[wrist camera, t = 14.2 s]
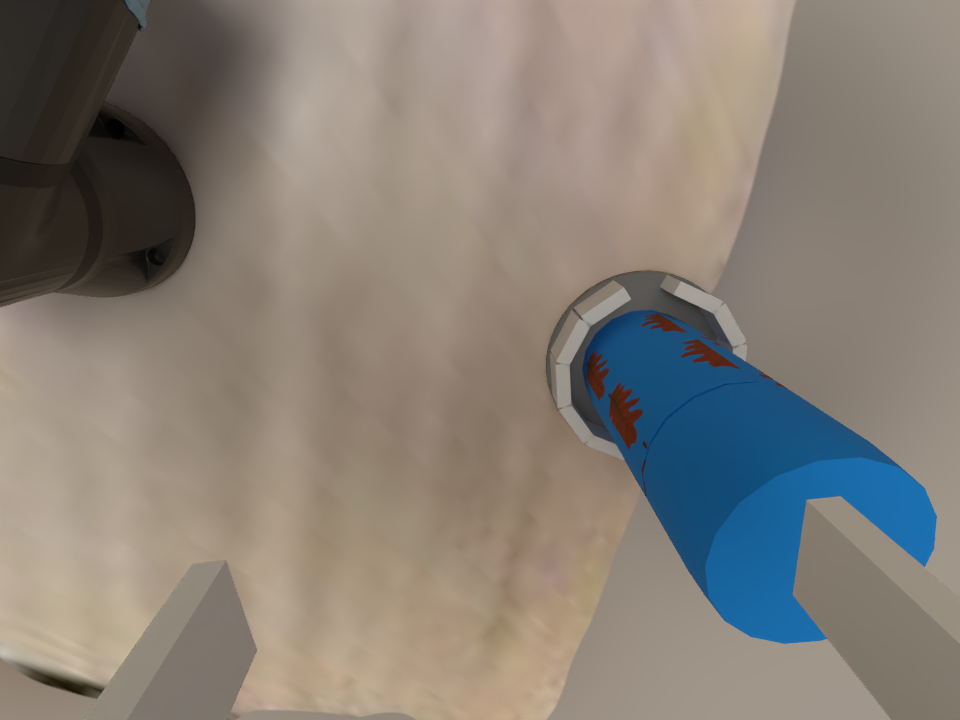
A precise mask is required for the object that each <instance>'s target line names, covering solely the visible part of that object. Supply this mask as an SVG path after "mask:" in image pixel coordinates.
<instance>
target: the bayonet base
mask: <svg viewBox="0 0 960 720" xmlns="http://www.w3.org/2000/svg"><path fill="white" fill-rule="evenodd" d="M642 310H653V311H657V312H661V313H664V314H668V315H671V316H673V317H675V318H677V319H679V320H681V321H683V322H685V323H687V324H689V325H690V326H692V327H693V328H695V329H696V330H698V331H700V332H701V333H703V334H704V335H706V336H707V337H709V338H710V339H712V340H713V341H715V342H716V343H718V344H719V345H721V346H723V347H724V348H726V349H727V350H729V351H730V352H732V353H733V354H735V355H736V356H738V357H739V358H741V359H743V360H744V361H746V354H747V344H746V343H745V342H746V339H745V337H744V336H743V334H742V332H741V330H740V328H739V327H738V325H737V323H736V322H735V320H734V318H733V316H732V314H731V312H730V311H729V309H728V307H727V305H726V303H723V301H722V300H720V299H717V298H715V297H713V296H711V295H709V294H708V293H706V292H705V291H704V290H702V289H701V288H700V287H699V286H697V285H695V284H693V283H692V282H690V281H688V280H686V279H683V278H681V277H678V276H676V275H673V274H669V273H665V272H659V271H634V272H628V273H623V274H620V275H617V276H613V277H611V278H608V279H606V280H604V281H602V282H600V283H598V284H596V285H595V286H593V287H591V288H590V289H588V290H587V291H586V292H584V293H583V294H582V295H580V296H579V297H578V298H577V299H576V300H575V301H574V302H573V303H572V304H571V305H570V306H569V307H568V309H567V310H566V311H565V313H564V314H563V315H562V317H561V318H560V320H559V322H558V323H557V325H556V327H555V329H554V332H553V334H552V336H551V339H550V343H549V346H548V351H547V358H546V373H547V381H548V385H549V388H550V392H551V394H552V397H553V399H554V401H555V403H556V405H557V408H558V410H559V412H560V413H561V414H562V416H563V417H564V418H565V420H566V421H567V423H568V424H569V425H570V427H571V428H572V429H573V431H574V432H575V433H576V435H577V436H578V437H579V439H580V440H581V441H582V443H585V445H586V446H588V447H591V448H593V449H596V450H598V451H601V452H603V453H606V454H609V455H611V456H614V457H616V458H619V459H621V460H624V461H625V459H624V458H623V456H622V454H621V452H620V451H619V449H618V447H617V445H616V444H615V442H614V440H613V438H612V437H611V435H610V433H609V431H608V430H607V428H606V426H605V424H604V423H603V421H602V419H601V417H600V416H599V414H598V412H597V410H596V409H595V407H594V405H593V403H592V401H591V398H590V396H589V394H588V391H587V389H586V386H585V381H584V376H583V371H582V367H583V362H584V357H585V351H586V349H587V347H588V346H589V344H590V342H591V340H592V339H593V337H594V335H595V334H596V333H597V332H598V331H599V330H600V329H601V328H602V327H603V326H605V325H606V324H607V323H608V322H609V321H610V320H612V319H614V318H616V317H619V316H621V315H623V314H626V313H628V312H630V311H642Z"/></svg>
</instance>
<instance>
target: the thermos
mask: <svg viewBox="0 0 960 720" xmlns="http://www.w3.org/2000/svg"><path fill="white" fill-rule="evenodd" d="M582 371H583V376H584V381H585V386H586V389H587V391H588V394H589V396H590V398H591V401H592V403H593V405H594V407H595V409H596V410H597V412H598V414H599V416H600V417H601V419H602V421H603V423H604V424H605V426H606V428H607V430H608V431H609V433H610V435H611V437H612V438H613V440H614V442H615V444H616V445H617V447H618V449H619V451H620V452H621V454H622V456H623V458H624V459H625V461H626V463H627V465H628V466H629V468H630V470H631V472H632V473H633V475H634V477H635V478H636V480H637V482H638V484H639V485H640V487H641V489H642V491H643V492H644V494H645V496H646V497H647V499H648V501H649V503H650V505H651V506H652V508H653V510H654V512H655V513H656V515H657V517H658V519H659V520H660V522H661V524H662V526H663V527H664V529H665V531H666V532H667V534H668V536H669V538H670V540H671V541H672V543H673V545H674V547H675V548H676V550H677V552H678V553H679V555H680V556H681V559H682V560H683V562H684V564H685V566H686V567H687V569H688V571H689V572H690V574H691V575H692V577H693V578H694V580H695V581H696V583H697V584H698V586H699V587H700V588H701V590H702V592H703V593H704V595H705V596H706V597H707V599H708V600H709V601H710V603H711V604H712V605H713V606H714V608H715V609H716V610H717V612H718V613H719V614H720V615H721V617H722V618H723V619H724V621H726V622H727V623H729V624H731V625H732V626H734V627H736V628H737V629H739V630H740V631H742V632H744V633H745V634H747V635H749V636H750V637H754V638H760V639H764V640H769V641H774V642H779V643H784V644H785V643H798V642H810V641H821V640H824V639H827V638H826V637H825V635H824V634H823V633H822V631H821V630H820V629H819V628H818V626H817V625H816V624H815V623H814V621H813V620H812V619H811V618H810V616H809V615H808V614H807V612H806V611H805V610H804V609H803V607H802V606H801V605H800V604H799V602H798V601H797V600H796V599H795V597H794V596H793V589H794V582H795V575H796V568H797V561H798V554H799V547H800V540H801V533H802V527H803V520H804V513H805V506H806V500H809V499H818V498H828V497H838V496H841V497H842V498H843V499H844V500H846V501H847V502H848V503H849V504H850V505H852V506H853V507H854V508H855V509H856V510H857V511H859V512H860V513H861V514H862V515H863V516H865V517H866V518H867V519H868V520H869V521H870V522H872V523H873V524H874V525H875V526H876V527H878V528H879V529H880V530H881V531H882V532H884V533H885V534H886V535H887V536H888V537H889V538H891V539H892V540H893V541H894V542H895V543H897V544H898V545H899V546H900V547H901V548H902V549H904V550H905V551H906V552H907V553H908V554H910V555H911V556H912V557H913V558H914V559H916V560H917V561H918V562H919V563H920V564H921V565H923V566H924V567H925V565H926V563H927V561H928V559H929V557H930V556H931V554H932V551H933V549H934V541H935V529H936V518H937V517H936V514H935V512H934V509H933V507H932V504H931V502H930V500H929V497H928V495H927V493H926V490H925V488H924V487H923V486H922V485H921V484H919V483H918V482H917V481H916V480H915V479H914V478H913V477H911V476H910V475H909V474H908V473H907V472H906V471H905V470H903V469H902V468H901V467H900V466H899V465H898V464H896V463H895V462H894V461H893V460H892V459H890V458H889V457H888V456H886V455H885V454H884V453H883V452H881V451H880V450H879V449H878V448H877V447H875V446H874V445H873V444H871V443H870V442H869V441H867V440H866V439H864V438H862V437H861V436H859V435H858V434H856V433H855V432H853V431H852V430H850V429H849V428H847V427H846V426H844V425H843V424H841V423H839V422H838V421H836V420H835V419H833V418H831V417H830V416H829V415H827V414H825V413H824V412H823V411H821V410H819V409H818V408H816V407H815V406H813V405H812V404H810V403H809V402H807V401H806V400H804V399H802V398H801V397H799V396H798V395H796V394H795V393H793V392H792V391H790V390H788V389H787V388H786V387H784V386H782V385H781V384H779V383H778V382H776V381H775V380H773V379H772V378H770V377H769V376H767V375H765V374H764V373H763V372H761V371H759V370H758V369H756V368H755V367H753V366H752V365H750V364H749V363H747V362H746V361H744V360H743V359H741V358H739V357H738V356H736V355H735V354H733V353H732V352H730V351H729V350H727V349H726V348H724V347H723V346H721V345H719V344H718V343H716V342H715V341H713V340H712V339H710V338H709V337H707V336H706V335H704V334H703V333H701V332H700V331H698V330H696V329H695V328H693V327H692V326H690V325H689V324H687V323H685V322H683V321H681V320H679V319H677V318H675V317H673V316H671V315H668V314H664V313H661V312H657V311H653V310H642V311H630V312H628V313H626V314H623V315H621V316H619V317H616V318H614V319H612V320H610V321H609V322H608V323H607V324H606V325H605V326H603V327H602V328H601V329H600V330H599V331H598V332H597V333H596V334H595V335H594V337H593V339H592V340H591V342H590V344H589V346H588V347H587V349H586V351H585V357H584V362H583V367H582Z"/></svg>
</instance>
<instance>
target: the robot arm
mask: <svg viewBox="0 0 960 720" xmlns="http://www.w3.org/2000/svg"><path fill="white" fill-rule="evenodd" d="M150 2H151V0H0V307H3V306H6V305H10V304H13V303H16V302H20V301H23V300H27V299H30V298H34V297H37V296H41V295H44V294H47V293H51V292H56V293H65V294H73V295H82V296H90V297H117V296H123V295H128V294H132V293H135V292H138V291H141V290H144V289H146V288H149V287H152V286H154V285H156V284H158V283H160V282H162V281H163V280H165V279H166V278H167V277H169V276H170V275H171V274H172V273H173V272H174V271H175V270H176V269H177V268H178V267H179V266H180V264H181V263H182V261H183V260H184V258H185V256H186V254H187V252H188V250H189V248H190V245H191V242H192V238H193V233H194V223H195V214H194V204H193V198H192V194H191V190H190V187H189V184H188V182H187V179H186V176H185V174H184V172H183V170H182V168H181V166H180V164H179V163H178V161H177V159H176V158H175V156H174V155H173V153H172V152H171V151H170V149H169V148H168V147H167V145H166V144H165V143H164V142H163V141H162V140H161V139H160V137H159V136H158V135H157V134H156V133H155V132H153V131H152V130H151V129H150V128H149V127H148V126H147V125H145V124H144V123H143V122H141V121H140V120H139V119H137V118H136V117H134V116H133V115H131V114H129V113H128V112H126V111H124V110H122V109H120V108H118V107H116V106H113V105H111V104H108V103H105V102H104V100H105V98H106V96H107V94H108V92H109V90H110V88H111V86H112V83H113V81H114V79H115V77H116V75H117V73H118V71H119V69H120V67H121V64H122V62H123V60H124V58H125V56H126V54H127V52H128V50H129V47H130V45H131V43H132V41H133V39H134V37H135V35H136V33H137V31H138V30H140V31H144V30H145V28H146V25H147V17H146V12H147V9H148V7H149V4H150ZM793 596H794V597H795V599H796V600H797V601H798V602H799V604H800V605H801V606H802V607H803V609H804V610H805V611H806V612H807V614H808V615H809V616H810V618H811V619H812V620H813V621H814V623H815V624H816V625H817V626H818V628H819V629H820V630H821V631H822V633H823V634H824V635H825V637H826V638H827V639H828V640H829V642H830V643H831V644H832V645H833V647H834V648H835V649H836V650H837V652H838V653H839V654H840V656H841V657H842V658H843V659H844V661H845V662H846V663H847V664H848V666H849V667H850V668H851V669H852V671H853V672H854V673H855V675H856V676H857V677H858V678H859V680H860V681H861V682H862V683H863V685H864V686H865V687H866V688H867V690H868V691H869V692H870V694H871V695H872V696H873V697H874V699H875V700H876V701H877V702H878V704H879V705H880V706H881V707H882V709H883V710H884V711H885V712H886V714H887V715H888V716H889V717H890V719H891V720H960V597H959V596H958V595H957V594H956V593H955V592H953V591H952V590H951V589H950V588H948V587H947V586H946V585H945V584H944V583H943V582H942V581H940V580H939V579H938V578H937V577H936V576H934V575H933V574H932V573H931V572H930V571H928V570H927V569H926V568H925V567H924V566H923V565H921V564H920V563H919V562H918V561H917V560H916V559H914V558H913V557H912V556H911V555H910V554H908V553H907V552H906V551H905V550H904V549H902V548H901V547H900V546H899V545H898V544H897V543H895V542H894V541H893V540H892V539H891V538H889V537H888V536H887V535H886V534H885V533H884V532H882V531H881V530H880V529H879V528H878V527H876V526H875V525H874V524H873V523H872V522H870V521H869V520H868V519H867V518H866V517H865V516H863V515H862V514H861V513H860V512H859V511H857V510H856V509H855V508H854V507H853V506H852V505H850V504H849V503H848V502H847V501H846V500H844V499H843V498H842V497H841V496H838V497H828V498H818V499H809V500H806V506H805V513H804V520H803V527H802V533H801V540H800V547H799V554H798V561H797V568H796V575H795V582H794V589H793ZM256 652H257V649H256V646H255V643H254V640H253V637H252V634H251V631H250V628H249V625H248V622H247V620H246V617H245V614H244V611H243V608H242V605H241V602H240V599H239V596H238V593H237V591H236V588H235V585H234V582H233V579H232V576H231V573H230V570H229V567H228V564H227V562H226V560H225V561H215V562H205V563H196V564H192V565H191V567H190V568H189V569H188V571H187V572H186V574H185V575H184V577H183V578H182V579H181V581H180V582H179V584H178V585H177V587H176V588H175V589H174V591H173V592H172V594H171V595H170V597H169V598H168V599H167V601H166V602H165V604H164V605H163V606H162V608H161V609H160V611H159V612H158V614H157V615H156V616H155V618H154V619H153V621H152V622H151V624H150V625H149V626H148V628H147V629H146V631H145V632H144V633H143V635H142V636H141V638H140V639H139V641H138V642H137V643H136V645H135V646H134V648H133V649H132V651H131V652H130V653H129V655H128V656H127V658H126V659H125V661H124V662H123V663H122V665H121V666H120V668H119V669H118V670H117V672H116V673H115V675H114V676H113V678H112V679H111V680H110V682H109V683H108V685H107V686H106V688H105V689H104V690H103V692H102V693H101V695H100V696H99V698H98V699H97V700H96V702H95V703H94V705H93V706H92V708H91V709H90V710H89V712H88V713H87V715H86V716H85V717H84V719H83V720H227V718H228V715H229V713H230V711H231V709H232V706H233V704H234V702H235V699H236V697H237V695H238V693H239V690H240V688H241V686H242V683H243V681H244V679H245V677H246V674H247V672H248V670H249V667H250V665H251V663H252V661H253V658H254V656H255V654H256Z"/></svg>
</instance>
